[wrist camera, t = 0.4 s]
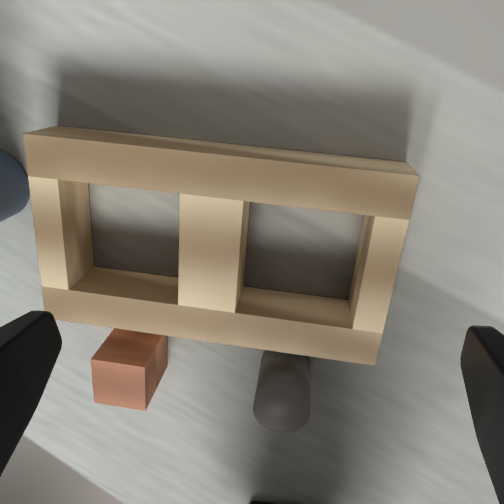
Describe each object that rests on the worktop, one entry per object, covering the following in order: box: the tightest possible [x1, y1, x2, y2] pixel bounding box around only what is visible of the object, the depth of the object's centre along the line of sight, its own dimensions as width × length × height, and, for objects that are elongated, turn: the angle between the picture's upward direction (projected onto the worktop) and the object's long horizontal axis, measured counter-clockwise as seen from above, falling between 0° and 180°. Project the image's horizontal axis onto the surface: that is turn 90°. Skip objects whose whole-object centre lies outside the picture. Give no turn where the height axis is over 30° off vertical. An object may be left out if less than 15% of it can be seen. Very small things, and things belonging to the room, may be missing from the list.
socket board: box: [23, 126, 420, 432], centre depth 23 cm, size 14×18×4 cm
